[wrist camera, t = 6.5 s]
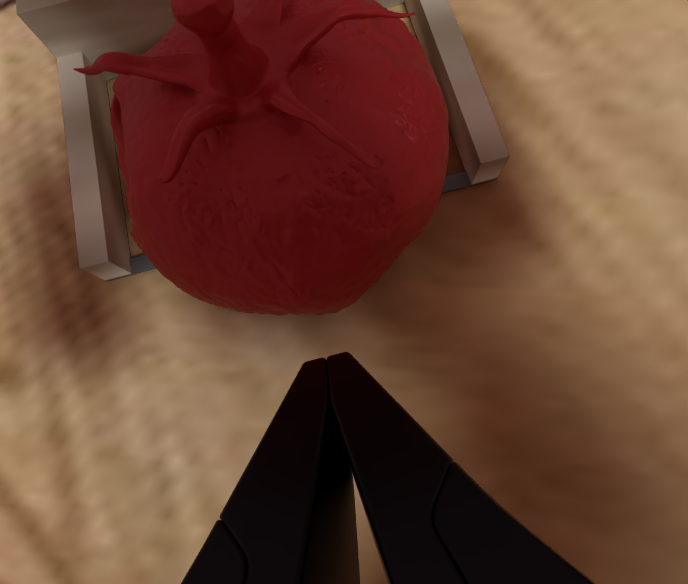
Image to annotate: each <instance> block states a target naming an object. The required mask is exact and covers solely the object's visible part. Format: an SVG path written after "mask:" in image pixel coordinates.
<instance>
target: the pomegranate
mask: <svg viewBox="0 0 688 584" xmlns="http://www.w3.org/2000/svg"><path fill="white" fill-rule="evenodd" d="M170 6H171V11H172V15H173V17H174V18H175V20H176V21H175V22H174V24H173V26H172V27H171V28H170V29H169V30H168V32H167V33H166V34H165V35H164V37H163V38H162V39H161V40H160V41H159V42H157V43H156V44H155V45H154V46H153V48H152V49H150V50H149V51H147V52H146V53H144V54H143V55H141V56H137V55H132V54H128V53H122V52H108V53H104V54H102V55H100V56H99V57H98V58H97V59H96V61H95V62H94V63H93V65H91V66H87V67H84V68H73V69H74V70H75V71H78V72H80V73H82V74H86V75H97V74H100V73H102V72H104V71H107V72H111V73H117V74H119V75H118V76H117V79H116V80H115V82H114V84H113V90H114V93H115V94H114V97H113V101H112V104H111V109H110V111H111V113H110V122H111V127H112V131H113V134H114V136H115V139H116V143H117V148H118V161H119V165H120V169H121V171H122V174H123V176H124V178H125V180H126V184H127V189H126V200H127V201H126V203H127V207H128V209H129V211H128V213H129V214H130V215H131V218H132V222H133V223H132V230H131V235H132V237H133V239H134V241H135V242H136V243H137V245H138V246H139V248H140V249H141V250H142V251H143V252H144V253H145V254H146V256H147V258H148V259H149V261H150V262H151V263H152V264H153V265H154V266H155V267H156V268H157V269H158V271H159V272H160V273H161V274H162V275H163V276H164V277H166V278H167V279H169V280H170V281H172V282H173V283H174V284H175V285H176V286H177V287H178V288H180V289H181V290H183V291H184V292H186V293H188V294H190V295H191V296H193V297H195V298H197V299H199V300H202V301H205V302H207V303H210V304H214V305H217V306H221V307H224V308H229V309H233V310H236V311H241V312H246V313H255V312H258V313H261V314H274V315H286V314H316V315H321V314H324V313H335V312H338V311H340V310H341V309H343V308H345V307H348V306H349V305H351V304H352V303H354V302H355V301H357V300H358V299H359V298H360V297H361V296H362V295H363V294H364V293H365V292H366V291H367V290H368V289H369V288H370V287H371V286H372V285H373V284H374V283H376V282H377V280H378V279H379V278H380V277H381V276H382V274H383V273H384V272H385V271H386V270H387V269H388V268H389V267H390V265H391V264H392V262H393V261H394V260H395V259H396V258H397V256H398V255H399V254H400V253H401V252H402V250H403V249H404V248H405V247H406V246H408V245H409V244H410V243H411V242H412V241H413V240H414V239H415V238H416V237H417V236H418V235H419V233H420V232H421V230H422V229H423V227H424V226H425V225H426V224H427V223H428V221H429V219H430V218H431V216H432V214H433V212H434V210H435V209H436V207H437V205H438V202H439V200H440V197H441V194H442V189H443V186H444V183H445V177H446V171H447V164H448V152H449V130H448V122H449V119H448V110H447V106H446V103H445V100H444V96H443V93H442V90H441V88H440V85H439V83H438V81H437V78H436V75H435V73H434V70H433V69H432V66H431V65H430V63H429V62H428V60H427V59H426V56H425V52H424V49H423V46H422V45H421V44H420V43H419V41H418V40H417V39H416V38H415V37H414V36H413V35H412V34H411V32H410V31H409V29H408V27H407V26H406V24H405V23H404V22H403V21H402V20H400V19H399V18H405V17H410V16H412V15H415V13H414V12H413V13H396V12H392V11H388V10H387V9H386V8H385V7H383V6H382V5H381V4H380V3H378V2H377V1H374V0H171V3H170Z"/></svg>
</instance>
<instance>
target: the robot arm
mask: <svg viewBox="0 0 688 584" xmlns="http://www.w3.org/2000/svg"><path fill="white" fill-rule="evenodd" d="M352 473H353V475H352ZM353 476H354V479H355V482H356V485H357V489H358V492H359V495H360V498H361V501H362V504H363V507H364V510H365V513H366V516H367V519H368V522H369V525H370V529H371V532H372V535H373V538H374V541H375V544H376V547H377V550H378V553H379V556H380V559H381V562H382V565H383V568H384V571H385V575H386V578H387V581H388V584H595V583H594V582H593V581H591V580H590V579H589V578H588V577H586V576H585V575H584V574H583V573H581V572H580V571H579V570H578V569H577V568H575V567H574V566H573V565H572V564H570V563H569V562H568V561H567V560H565V559H564V558H563V557H562V556H560V555H559V554H558V553H557V552H555V551H554V550H553V549H552V548H551V547H549V546H548V545H547V544H546V543H544V542H543V541H542V540H541V539H539V538H538V537H537V536H536V535H534V534H533V533H532V532H531V531H530V530H528V529H527V528H526V527H525V526H524V525H523V524H521V523H520V522H519V521H518V520H517V519H515V518H514V517H513V516H512V515H511V514H510V513H508V512H507V511H506V510H505V509H504V508H503V507H501V506H500V505H499V504H498V503H497V502H496V501H495V500H494V499H493V498H492V497H491V496H490V495H489V494H488V493H487V492H485V491H484V490H483V489H482V488H481V487H480V486H479V485H478V484H477V483H476V482H475V481H474V480H473V479H472V478H471V477H470V476H469V475H468V474H467V473H466V472H465V471H464V470H463V469H462V468H461V467H460V466H459V465H458V464H457V463H456V462H453V459H452V458H451V457H450V456H449V455H448V454H447V453H446V452H445V451H444V450H443V449H442V448H441V446H440V445H439V444H438V443H437V442H436V441H435V440H434V439H433V438H432V437H431V436H430V435H429V434H428V433H427V432H426V431H425V430H424V429H423V428H422V427H421V426H420V425H419V424H418V423H417V422H416V421H415V420H414V419H413V418H412V417H411V416H410V415H409V414H408V413H407V412H406V411H405V409H404V408H403V407H402V406H401V405H400V404H399V403H398V402H397V401H396V400H395V399H394V398H393V397H392V396H391V395H390V394H389V393H388V392H387V391H386V390H385V389H384V388H383V387H382V386H381V385H380V384H379V383H378V382H377V381H376V380H375V379H374V378H373V377H372V376H371V375H370V374H369V372H368V371H367V370H366V369H365V368H364V367H363V366H362V365H361V364H360V363H359V362H358V361H357V360H356V359H355V358H354V357H353V356H352V355H351V354H350V353H348V352H343V353H339V354H335V355H331V356H329V357H328V358H327V360H326V359H325V358H319V359H315V360H311V361H307V362H305V363H304V364H303V365H302V367H301V368H300V370H299V372H298V374H297V376H296V378H295V379H294V381H293V383H292V385H291V387H290V389H289V390H288V392H287V394H286V396H285V398H284V399H283V401H282V403H281V405H280V407H279V409H278V410H277V412H276V414H275V416H274V418H273V420H272V421H271V423H270V425H269V427H268V429H267V430H266V432H265V434H264V436H263V438H262V440H261V441H260V443H259V445H258V447H257V449H256V451H255V452H254V454H253V456H252V458H251V460H250V461H249V463H248V465H247V467H246V469H245V471H244V472H243V474H242V476H241V478H240V480H239V482H238V483H237V485H236V487H235V489H234V491H233V492H232V494H231V496H230V498H229V500H228V502H227V503H226V505H225V507H224V509H223V511H222V513H221V514H220V519H221V520H218V521H216V523H215V525H214V527H213V529H212V530H211V532H210V534H209V536H208V538H207V539H206V541H205V543H204V545H203V547H202V548H201V550H200V552H199V553H198V555H197V557H196V559H195V560H194V562H193V564H192V566H191V567H190V569H189V571H188V572H187V574H186V576H185V578H184V579H183V581H182V583H181V584H360V573H359V558H358V543H357V527H356V512H355V497H354V484H353Z"/></svg>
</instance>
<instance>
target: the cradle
mask: <svg viewBox="0 0 688 584" xmlns="http://www.w3.org/2000/svg"><path fill="white" fill-rule="evenodd" d="M374 1H377V2H378V3H380V4H381V5H382V6H383V7H385V8H387V7H390V6H394V5H398V4H402V3H405V5H406V8H407V11H408V13H413V12H414V13H415V15H412V16H410V19H411V22H412V25H413V28H414V30H415V33H416V36H417V39H418V41H419V43H420V44H421V45H422V46H423V49H424V52H425V56H426V59H427V60H428V62H429V63H430V65H431V66H432V69H433V70H434V73H435V75H436V78H437V81H438V83H439V85H440V88H441V90H442V93H443V96H444V100H445V103H446V106H447V110H448V119H449V122H448V124H449V127H450V129H451V132H452V135H453V138H454V140H455V143H456V146H457V149H458V152H459V154H460V157H461V160H462V163H463V165H464V168H465V171H462V172H458V173H455V174H451V175H447V176H446V177H445V183H444V186H443V189H442V193H445V192H449V191H453V190H457V189H460V188H464V187H468V186H472V185H476V184H479V183H483V182H487V181H491V180H495V179H497V178H498V176H499V174H500V172H501V171H502V169H503V167H504V165H505V163H506V162H507V160H508V158H509V156H510V155H509V153H508V150H507V148H506V145H505V143H504V140H503V138H502V135H501V133H500V130H499V128H498V125H497V122H496V120H495V117H494V115H493V112H492V110H491V107H490V105H489V102H488V100H487V97H486V95H485V92H484V90H483V87H482V84H481V82H480V79H479V77H478V74H477V72H476V69H475V67H474V64H473V62H472V59H471V57H470V54H469V52H468V49H467V47H466V44H465V41H464V39H463V36H462V34H461V31H460V29H459V26H458V24H457V21H456V19H455V16H454V14H453V11H452V9H451V6H450V4H449V1H448V0H374ZM170 3H171V0H16V8H17V15H18V16H19V17H20V18H21V19H22V20H23V21H24V23H25V24H26V25H27V26H28V27H29V28H30V29H31V30H32V31H33V32H34V34H35V35H36V36H37V37H38V38H39V39H40V40H41V41H42V42H43V43H44V45H45V46H46V47H47V48H48V49H49V50H50V51H51V52H52V53H53V54H54V56H55V57H56V58H57V64H58V73H59V83H60V92H61V101H62V111H63V120H64V129H65V139H66V148H67V157H68V167H69V176H70V185H71V195H72V204H73V213H74V223H75V232H76V241H77V250H78V260H79V269H81V270H84V271H86V272H88V273H90V274H92V275H94V276H97V277H99V278H101V279H103V280H105V281H110V280H113V279H117V278H121V277H125V276H129V275H132V274H136V273H140V272H144V271H148V270H152V269H155V268H156V267H155V266H154V265H153V264H152V263H151V262H150V261H149V259H148V258H147V256H146V254H145V255H142V256H138V257H134V258H130V250H129V243H128V236H127V229H126V222H125V214H124V207H123V200H122V193H121V186H120V179H119V171H118V164H117V157H116V150H115V143H114V135H113V131H112V127H111V122H110V107H109V100H108V92H107V85H106V80H110V79H114V78H117V76H118V75H119V74H117V73H111V72H107V71H104V72H102V73H100V74H97V75H86V74H82V73H80V72H78V71H75V70H74V69H73V68H84V67H87V66H91V65H93V63H94V62H95V61H96V59H97V58H98V57H99V56H100V55H102V54H104V53H108V52H122V53H128V54H132V55H137V56H141V55H143V54H144V53H146V52H147V51H149V50H150V49H152V48H153V46H154V45H155V44H156V43H157V42H159V41H160V40H161V39H162V38H163V37H164V35H165V34H166V33H167V32H168V30H169V29H170V28H171V27H172V26H173V24H174V22H175V21H176V20H175V18H174V17H173V15H172V11H171V6H170Z"/></svg>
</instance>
